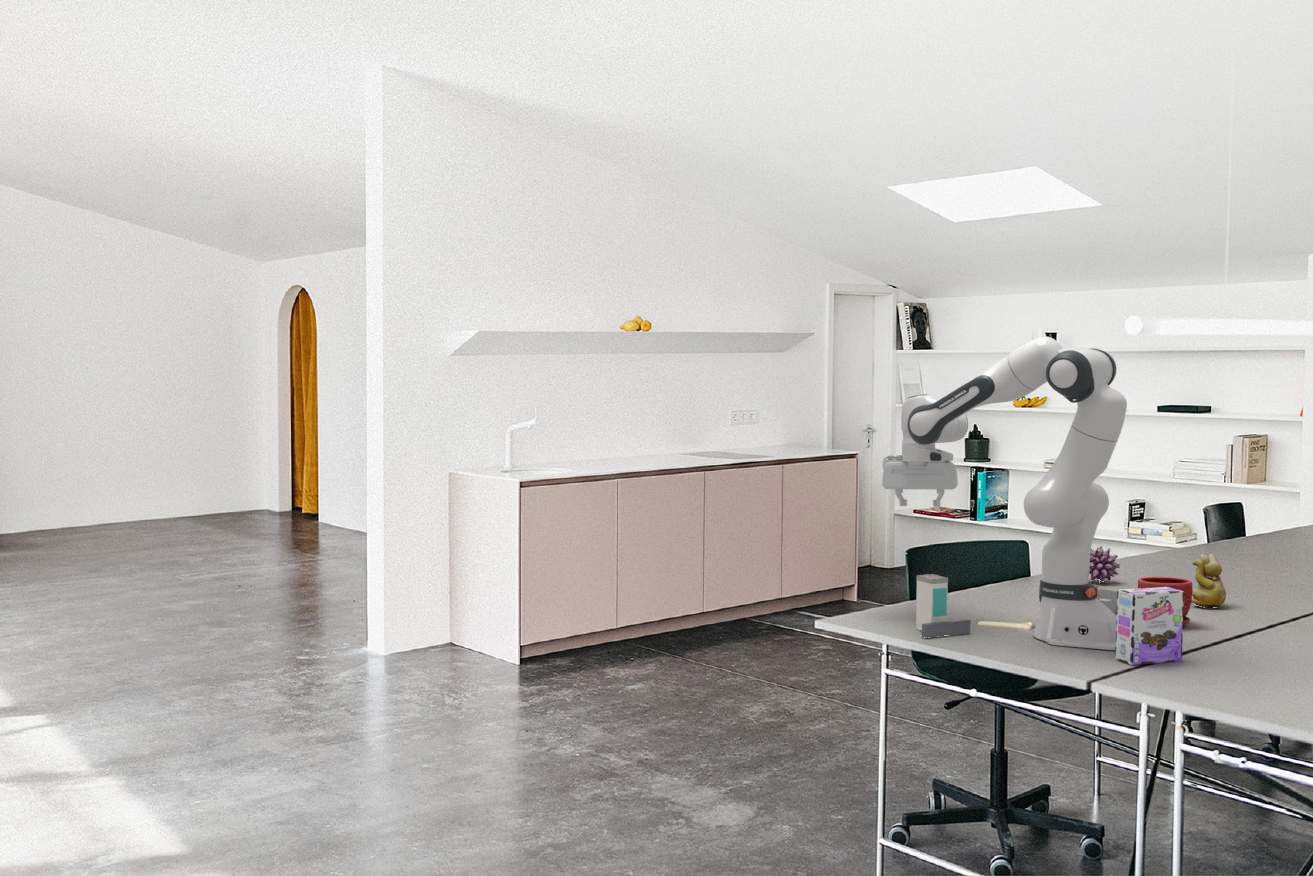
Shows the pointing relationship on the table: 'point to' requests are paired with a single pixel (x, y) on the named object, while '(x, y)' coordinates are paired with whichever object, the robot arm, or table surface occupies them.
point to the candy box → (1149, 625)
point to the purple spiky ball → (1102, 564)
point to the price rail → (946, 628)
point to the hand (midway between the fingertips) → (919, 506)
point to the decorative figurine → (1208, 583)
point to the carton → (931, 599)
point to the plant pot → (1175, 584)
